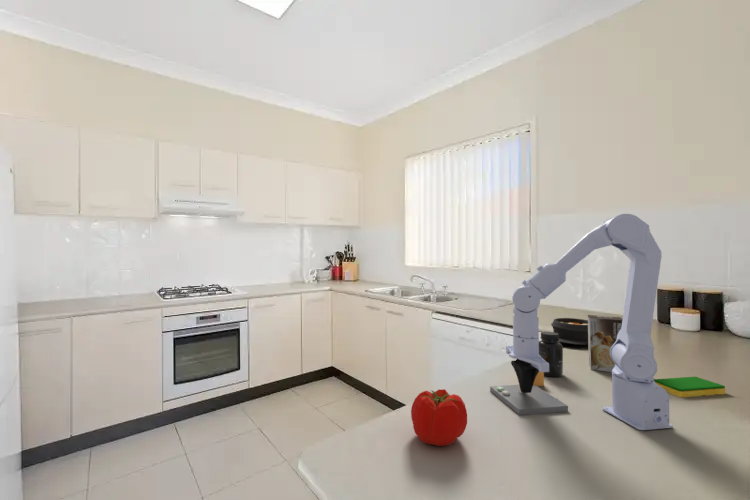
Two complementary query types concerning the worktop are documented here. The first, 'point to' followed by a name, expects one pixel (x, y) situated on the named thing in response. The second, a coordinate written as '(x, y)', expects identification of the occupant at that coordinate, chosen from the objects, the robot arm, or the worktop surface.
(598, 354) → the coffee box
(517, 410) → the panel
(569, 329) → the casserole
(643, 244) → the robot arm
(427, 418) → the tomato
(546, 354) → the supplement bottle
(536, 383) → the orange wooden cube
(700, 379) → the dish sponge
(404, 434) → the worktop surface
